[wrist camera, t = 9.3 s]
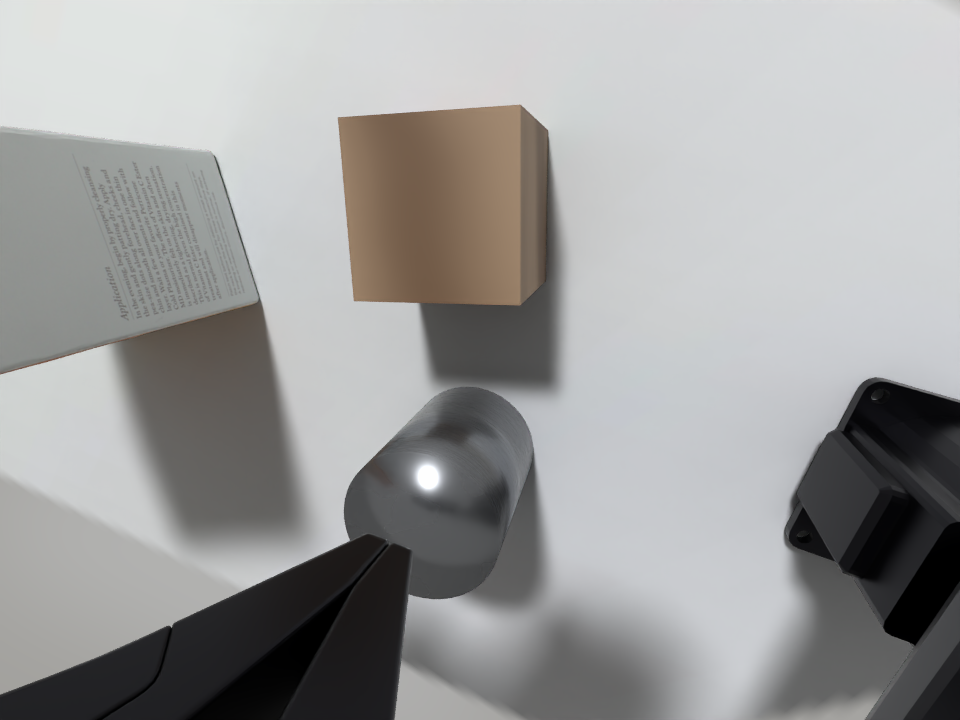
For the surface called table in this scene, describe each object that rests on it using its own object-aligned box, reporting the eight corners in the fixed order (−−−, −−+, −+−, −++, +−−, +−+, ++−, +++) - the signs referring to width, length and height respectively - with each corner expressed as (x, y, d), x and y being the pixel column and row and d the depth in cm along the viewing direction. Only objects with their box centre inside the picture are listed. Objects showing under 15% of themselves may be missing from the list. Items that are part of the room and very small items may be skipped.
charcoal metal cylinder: (548, 410, 20) (518, 488, 15) (514, 516, 22) (477, 622, 16) (427, 370, 21) (357, 430, 16) (404, 475, 23) (333, 563, 17)
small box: (123, 334, 25) (-356, 460, 13) (70, 195, 23) (-525, 187, 11) (266, 304, 22) (-159, 424, 10) (217, 147, 21) (-342, 71, 9)
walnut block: (548, 130, 18) (520, 104, 13) (546, 280, 19) (520, 305, 14) (408, 138, 19) (338, 117, 14) (416, 278, 20) (353, 300, 16)
